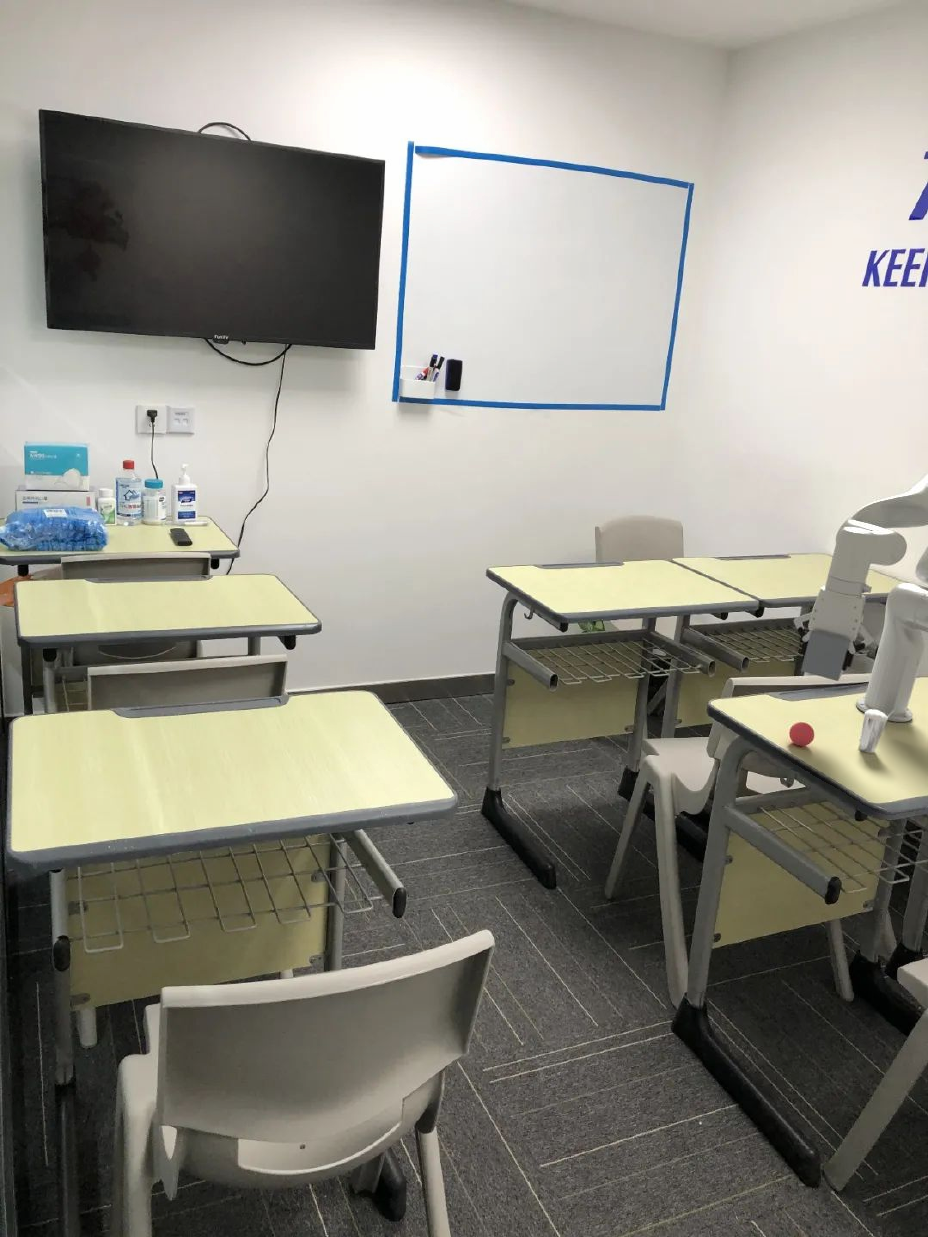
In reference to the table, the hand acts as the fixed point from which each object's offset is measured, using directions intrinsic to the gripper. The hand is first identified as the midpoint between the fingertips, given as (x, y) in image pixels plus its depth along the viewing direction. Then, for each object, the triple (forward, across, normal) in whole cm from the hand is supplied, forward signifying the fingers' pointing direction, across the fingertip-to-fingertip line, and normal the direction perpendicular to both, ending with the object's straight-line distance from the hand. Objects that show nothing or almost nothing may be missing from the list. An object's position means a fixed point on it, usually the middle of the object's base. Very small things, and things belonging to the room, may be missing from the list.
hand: (824, 663), depth 202 cm
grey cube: (+2, 0, 0) cm, 2 cm away
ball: (+13, 0, +10) cm, 17 cm away
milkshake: (+16, -13, +1) cm, 21 cm away
